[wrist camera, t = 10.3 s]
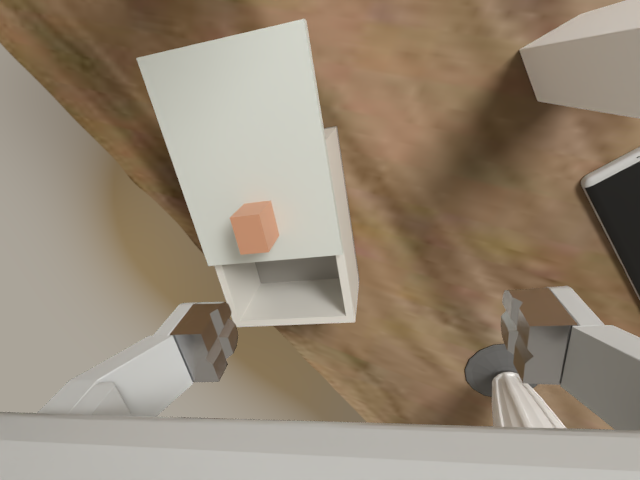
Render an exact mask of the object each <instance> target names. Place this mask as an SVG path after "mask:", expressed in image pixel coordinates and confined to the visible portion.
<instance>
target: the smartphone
mask: <svg viewBox="0 0 640 480" xmlns="http://www.w3.org/2000/svg"><path fill="white" fill-rule="evenodd" d="M581 186H582V188H583V190H584V192H585V194H586V196H587V198H588V200H589V202H590V204H591V206H592V208H593V210H594V212H595V214H596V216H597V218H598V220H599V221H600V223H601V226H602V227H603V229H604V231H605V233H606V235H607V237H608V239H609V241H610V243H611V245H612V247H613V249H614V251H615V253H616V255H617V257H618V259H619V261H620V263H621V265H622V267H623V269H624V271H625V273H626V275H627V277H628V279H629V281H630V283H631V284H632V286H633V288H634V290H635V292H636V294H637V296H638V298H639V300H640V147H638V148H636V149H634V150H633V151H631V152H629V153H627V154H625V155H623V156H621V157H619V158H618V159H616V160H614V161H612V162H610V163H608V164H606V165H604V166H602V167H601V168H599V169H597V170H595V171H593V172H591V173H589V174H587V175H586V176H584V177H583V178H582V180H581Z"/></svg>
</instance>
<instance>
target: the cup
mask: <svg viewBox="0 0 640 480" xmlns="http://www.w3.org/2000/svg"><path fill="white" fill-rule="evenodd" d="M513 360H514V355H513V354H512V353H510V352H509V351H507V349H506V346H505V344H499V345H492V346H490V347H487V348H484V349H482V350H479V351H478V352H477V353H476V354H475V355H474V356H473V357H471V358H470V359H469V362H468V364H467V366H466V368H465V374H466V380H467V382H468V383H469V384H470V386H471V387H472V388H473V389H474V390H476V391H478V392H479V393H481V394H483V395H485V396H490V397H492V414H493V426H494V427H530V428H566V427H565V426H564V425H563V423H562V422H561V421H560V420H559V418H558V417H557V416H556V415H555V414H554V412H553V411H552V410H551V409H550V407H549V406H548V405H547V404H546V403H545V401H544V400H543V399H542V398H541V397H540V396H539V395H538V394H537V392H536V391H535V390H534V389H533V388H534V387H535V386H537V384H526V383H522V381H521V379H520V376H519V374H518V372H517V370H516V368H515V366H514V364H513Z"/></svg>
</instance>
